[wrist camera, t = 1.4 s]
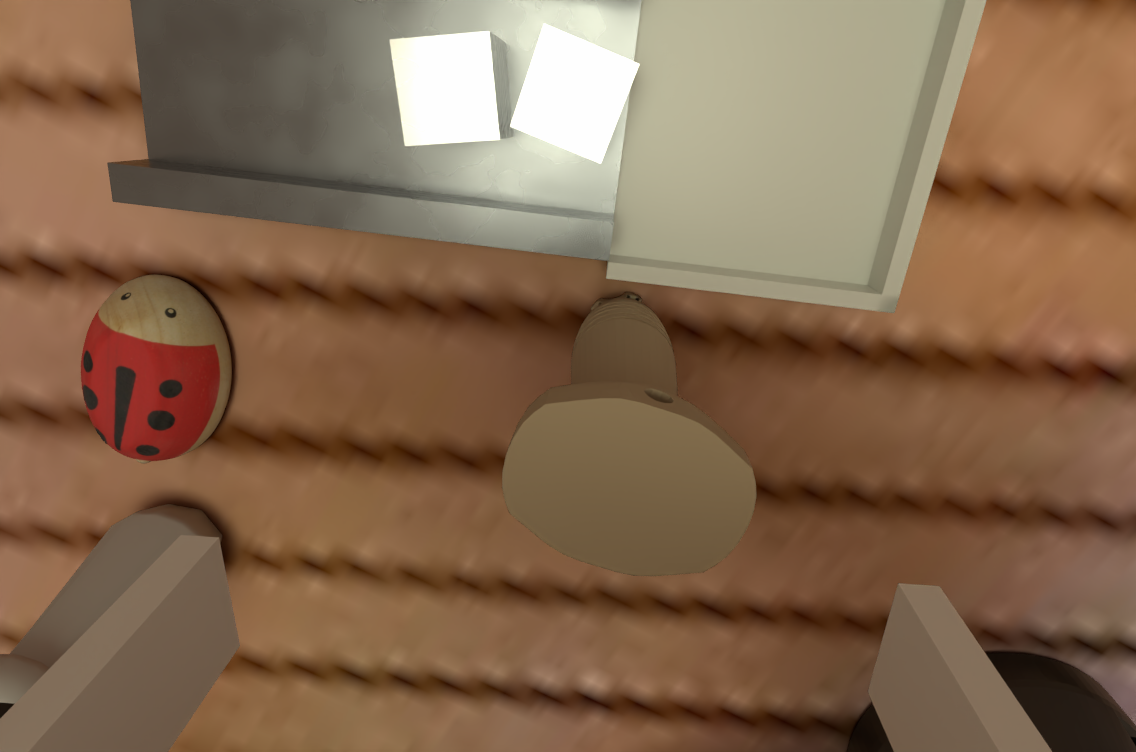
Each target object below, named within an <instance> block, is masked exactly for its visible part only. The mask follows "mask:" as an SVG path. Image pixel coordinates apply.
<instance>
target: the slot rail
mask: <svg viewBox="0 0 1136 752" xmlns="http://www.w3.org/2000/svg"><path fill="white" fill-rule="evenodd" d="M130 1H131V9H132V18H133V27H134V36H135V44H136V53H137V62H138V70H139V79H140V88H141V96H142V105H143V114H144V122H145V131H146V140H147V148H148V157H149V159H144V160H133V161H121V162H109V163H108V170H109V177H110V185H111V192H112V199H113V202H120V203H128V204H137V205H145V206H153V207H162V208H170V209H178V210H187V211H195V212H203V213H212V214H220V215H229V216H237V217H245V218H254V219H262V220H270V221H279V222H287V223H295V224H304V225H312V226H321V227H329V228H337V229H346V230H354V231H362V232H371V233H379V234H387V235H396V236H404V237H413V238H421V239H429V240H438V241H446V242H454V243H463V244H471V245H480V246H488V247H496V248H505V249H513V250H521V251H530V252H538V253H546V254H555V255H563V256H572V257H580V258H588V259H597V260H605V261H609V257H610V250H611V242H612V234H613V227H614V211H615V203H616V195H617V187H618V180H619V172H620V164H621V156H622V149H623V141H624V133H625V126H626V118H627V110H628V102H629V95H630V90H629V92H628V95H627V98H626V100H625V103H624V105H623V108H622V110H621V113H620V116H619V118H618V121H617V123H616V126H615V129H614V131H613V134H612V136H611V139H610V141H609V144H608V147H607V149H606V152H605V154H604V157H603V160H602V162H601V164H600V163H598V162H595V161H593V160H591V159H588V158H586V157H583V156H581V155H578V154H576V153H573V152H571V151H569V150H566V149H564V148H561V147H559V146H556V145H554V144H552V143H549V142H547V141H544V140H542V139H539V138H537V137H535V136H532V135H530V134H527V133H525V132H522V131H520V130H518V129H515V128H513V137H511V138H506V139H500V140H487V141H472V142H458V143H444V144H430V145H416V146H405V143H404V136H403V130H402V123H401V116H400V109H399V102H398V95H397V88H396V81H395V74H394V68H393V61H392V54H391V47H390V40H389V39H401V38H413V37H425V36H437V35H449V34H460V33H472V32H484V31H490V32H491V33H493V34H494V35H496V36H497V37H498V38H500V39H501V40H503V41H504V42H505V49H506V60H507V71H508V82H509V93H510V104H511V115H512V119H513V116H514V113H515V110H516V107H517V104H518V100H519V97H520V94H521V91H522V88H523V85H524V82H525V79H526V76H527V73H528V70H529V67H530V64H531V61H532V58H533V55H534V52H535V49H536V46H537V43H538V40H539V37H540V34H541V31H542V28H543V25H544V24H546V25H549V26H551V27H554V28H556V29H558V30H561V31H563V32H565V33H568V34H570V35H572V36H575V37H577V38H579V39H582V40H584V41H586V42H589V43H591V44H594V45H596V46H598V47H601V48H603V49H605V50H608V51H610V52H612V53H615V54H617V55H619V56H622V57H624V58H627V59H629V60H631V61H634V56H635V48H636V41H637V33H638V25H639V18H640V10H641V2H642V0H130Z"/></svg>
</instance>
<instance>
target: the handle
mask: <svg viewBox="0 0 1136 752" xmlns="http://www.w3.org/2000/svg"><path fill="white" fill-rule="evenodd" d="M502 489H503V494H504V499H505V502H506V505H507V508H508V511H509V513H510V514H511V515H512V516H513V517H515V518H516V519H517V520H518V521H519V522H521V523H522V524H523V525H524V526H525V527H527V528H528V529H529V530H530V531H531V532H533V533H534V534H535V535H536V536H538V537H539V538H540V539H541V540H543V541H544V542H545V543H546V544H548V545H549V546H551V547H552V548H554V549H555V550H557V551H559V552H560V553H562V554H564V555H566V556H569V557H571V558H574V559H576V560H579V561H581V562H585V563H588V564H591V565H595V566H598V567H601V568H605V569H608V570H611V571H614V572H619V573H623V574H628V575H633V576H664V575H678V574H690V573H701V572H705V571H707V570H708V569H710V568H712V567H713V566H715V565H716V564H718V563H719V562H720V561H722V560H723V559H724V558H726V557H727V556H728V555H729V554H730V552H731V551H732V550H733V549H734V548H735V547H736V545H737V544H738V543H739V541H740V539H741V538H742V536H743V534H744V533H745V531H746V530H747V527H748V525H749V522H750V520H751V517H752V515H753V512H754V507H755V501H756V482H755V477H754V473H753V469H752V466H751V464H750V461H749V459H748V457H747V454H746V452H745V451H744V449H743V448H742V447H741V446H740V445H739V444H738V443H737V442H736V441H735V440H734V439H733V438H732V437H731V436H730V435H729V434H728V433H727V432H726V431H725V430H723V429H722V428H721V427H720V426H719V425H718V424H717V423H716V422H715V421H713V420H712V419H711V418H710V417H709V416H708V415H706V414H705V413H704V412H702V411H701V410H700V409H698V408H697V407H696V406H694V405H693V404H691V403H689V402H687V401H685V400H684V399H682V398H680V397H678V392H677V376H676V361H675V357H674V352H673V348H672V344H671V341H670V339H669V336H668V334H667V332H666V330H665V328H664V326H663V324H662V323H661V321H660V320H659V318H658V317H657V316H656V314H655V313H654V312H653V311H652V310H651V309H650V308H648V307H647V306H646V305H645V304H643V303H642V299H641V297H639V296H638V295H636V294H634V293H631V292H625V293H624V294H623V295H622V296H620V297H616V298H612V299H603V298H600V299H599V300H597V301H596V302H595V303H594V304H593V305H592V307H591V312H590V313H589V315H588V316H587V317H586V319H585V320H584V322H583V323H582V325H581V327H580V330H579V332H578V334H577V337H576V339H575V343H574V347H573V352H572V359H571V385H565V386H559V387H553V388H550V389H549V390H547V391H546V392H545V393H543V394H542V395H540V396H539V397H538V398H537V399H536V400H535V401H534V402H533V403H532V404H531V405H530V406H529V407H528V408H527V410H526V411H525V413H524V415H523V416H522V418H521V419H520V421H519V422H518V425H517V427H516V429H515V432H514V434H513V437H512V439H511V442H510V445H509V448H508V451H507V454H506V458H505V463H504V467H503V475H502Z"/></svg>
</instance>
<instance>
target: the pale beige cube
mask: <svg viewBox="0 0 1136 752" xmlns="http://www.w3.org/2000/svg"><path fill="white" fill-rule="evenodd" d="M389 40H390V47H391V54H392V61H393V68H394V74H395V81H396V88H397V95H398V102H399V109H400V116H401V123H402V130H403V136H404V143H405V146H416V145H430V144H444V143H458V142H472V141H487V140H500V139H506V138H511V137H513V127H510V125H511V122H512V115H511V104H510V93H509V82H508V71H507V60H506V49H505V42H504V41H503V40H501V39H500V38H498V37H497V36H496V35H494V34H493V33H491V32H490V31H484V32H472V33H460V34H449V35H437V36H425V37H413V38H401V39H389Z"/></svg>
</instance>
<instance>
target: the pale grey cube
mask: <svg viewBox="0 0 1136 752" xmlns="http://www.w3.org/2000/svg"><path fill="white" fill-rule="evenodd" d="M638 66H639V64H638V63H636V62H634V61H631V60H629V59H627V58H624V57H622V56H619V55H617V54H615V53H612V52H610V51H608V50H605V49H603V48H601V47H598V46H596V45H594V44H591V43H589V42H586V41H584V40H582V39H579V38H577V37H575V36H572V35H570V34H568V33H565V32H563V31H561V30H558V29H556V28H554V27H551V26H549V25H546V24H544V25H543V28H542V31H541V34H540V37H539V40H538V43H537V46H536V49H535V52H534V55H533V58H532V61H531V64H530V67H529V70H528V73H527V76H526V79H525V82H524V85H523V88H522V91H521V94H520V97H519V100H518V104H517V107H516V110H515V113H514V116H513V119H512V122H511V125H510V127H513V128H515V129H518V130H520V131H522V132H525V133H527V134H530V135H532V136H535V137H537V138H539V139H542V140H544V141H547V142H549V143H552V144H554V145H556V146H559V147H561V148H564V149H566V150H569V151H571V152H573V153H576V154H578V155H581V156H583V157H586V158H588V159H591V160H593V161H595V162H598V163H600V164H601V162H602V160H603V157H604V154H605V152H606V149H607V147H608V144H609V141H610V139H611V136H612V134H613V131H614V129H615V126H616V123H617V121H618V118H619V116H620V113H621V110H622V108H623V105H624V103H625V100H626V98H627V95H628V92H629V90H630V87H631V85H632V82H633V79H634V77H635V74H636V72H637V69H638Z"/></svg>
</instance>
